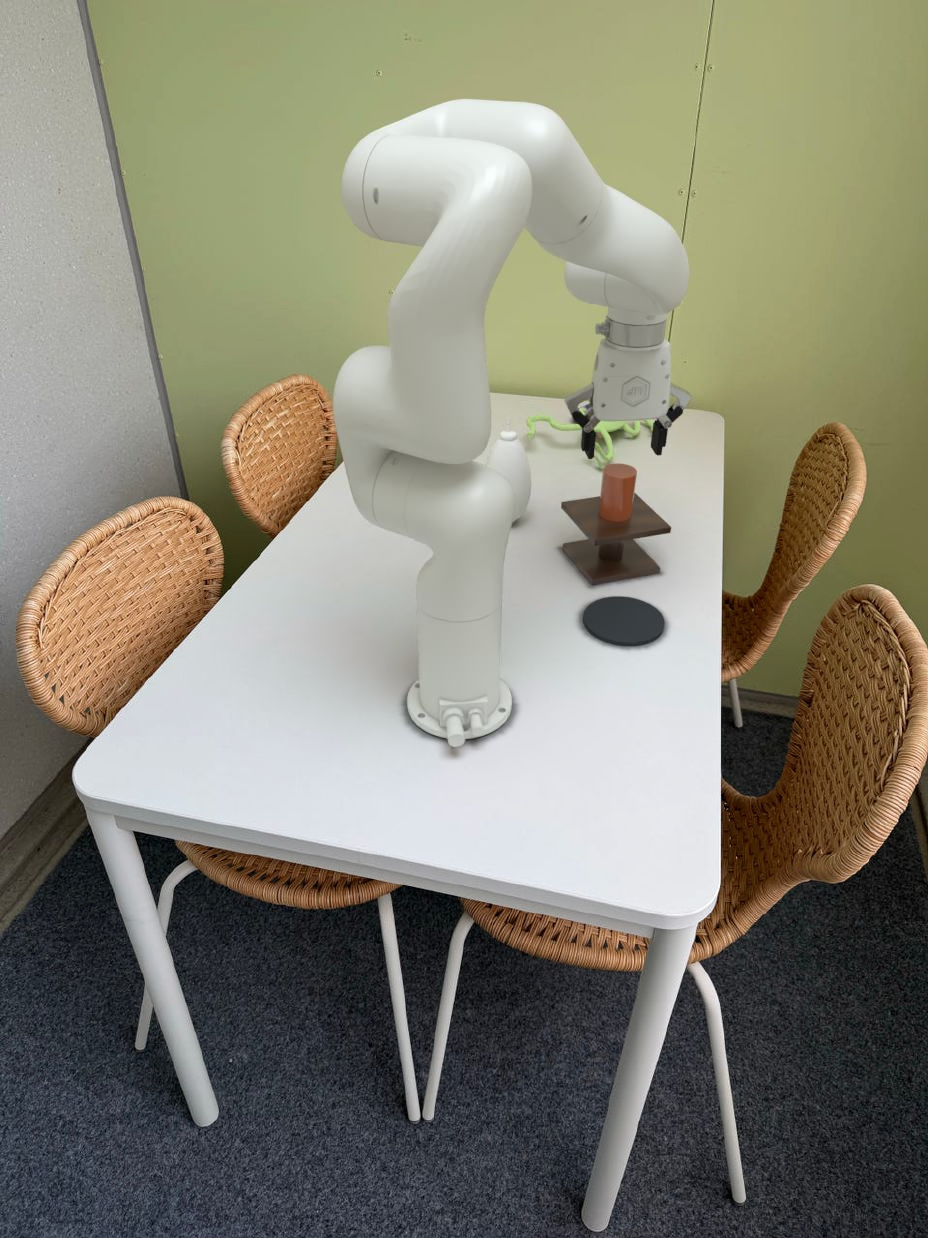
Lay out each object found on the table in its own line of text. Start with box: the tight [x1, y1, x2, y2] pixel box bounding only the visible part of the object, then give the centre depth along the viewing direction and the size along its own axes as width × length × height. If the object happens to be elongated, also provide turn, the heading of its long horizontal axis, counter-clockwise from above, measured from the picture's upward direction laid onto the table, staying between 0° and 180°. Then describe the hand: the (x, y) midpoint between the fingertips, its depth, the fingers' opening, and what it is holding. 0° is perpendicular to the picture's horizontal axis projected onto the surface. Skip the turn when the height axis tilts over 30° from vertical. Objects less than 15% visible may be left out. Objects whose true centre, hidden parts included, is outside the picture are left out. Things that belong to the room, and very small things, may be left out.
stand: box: [560, 492, 672, 586], centre depth 130 cm, size 12×12×8 cm
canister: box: [599, 462, 638, 522], centre depth 125 cm, size 5×5×7 cm
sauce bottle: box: [485, 416, 532, 523], centre depth 137 cm, size 8×8×18 cm
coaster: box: [582, 595, 666, 647], centre depth 119 cm, size 11×11×1 cm
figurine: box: [525, 403, 655, 470], centre depth 167 cm, size 18×27×6 cm
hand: (622, 453), depth 122 cm, fingers open, 9 cm apart
